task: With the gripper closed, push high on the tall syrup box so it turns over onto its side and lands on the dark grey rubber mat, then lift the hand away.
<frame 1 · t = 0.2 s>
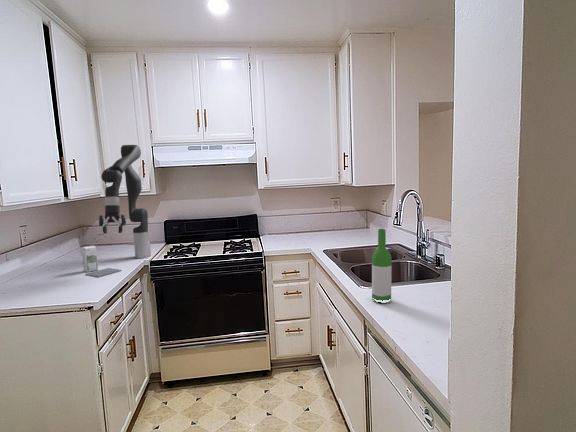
hand: (112, 233, 198), 22 cm above the counter, tool pointing down, fingers open, 8 cm apart
wine bottle: (381, 301, 143), on the counter
syrup box: (91, 271, 204), on the counter
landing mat: (103, 272, 198), on the counter
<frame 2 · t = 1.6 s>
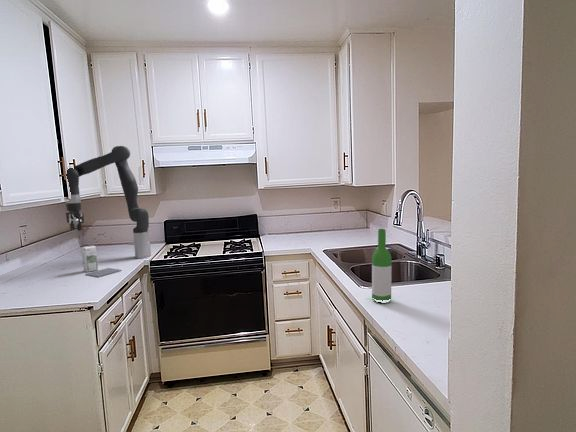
hand: (76, 230, 206), 24 cm above the counter, tool pointing down, fingers open, 6 cm apart
nothing on the counter moved.
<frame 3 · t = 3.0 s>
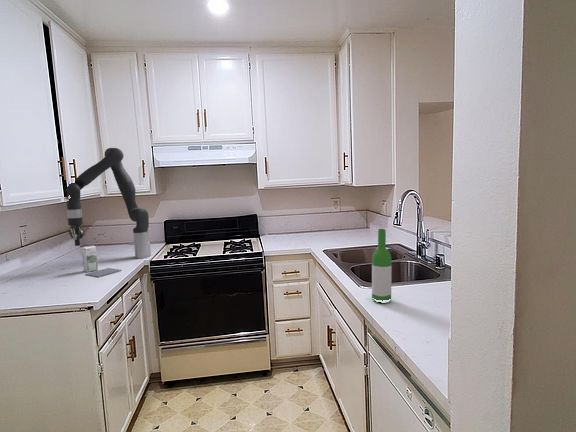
hand: (77, 245, 207), 14 cm above the counter, tool pointing down, fingers closed
nothing on the counter moved.
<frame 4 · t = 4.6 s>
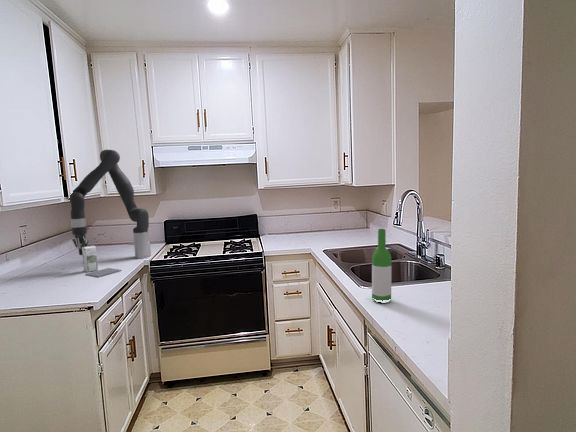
hand: (81, 254, 206), 9 cm above the counter, tool pointing down, fingers closed
nothing on the counter moved.
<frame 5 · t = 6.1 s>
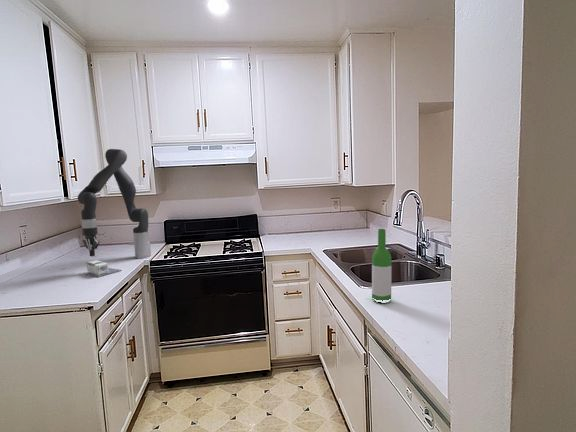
hand: (92, 256, 201), 9 cm above the counter, tool pointing down, fingers closed
syrup box: (91, 265, 202), point 3 cm above the counter, touching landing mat
everything else where it was.
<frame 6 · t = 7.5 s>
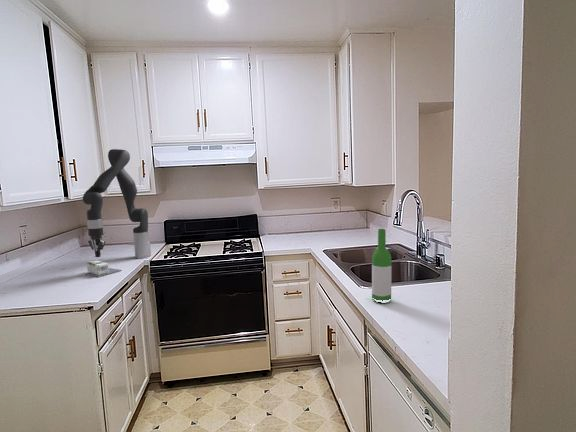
hand: (98, 256, 199), 9 cm above the counter, tool pointing down, fingers closed
nothing on the counter moved.
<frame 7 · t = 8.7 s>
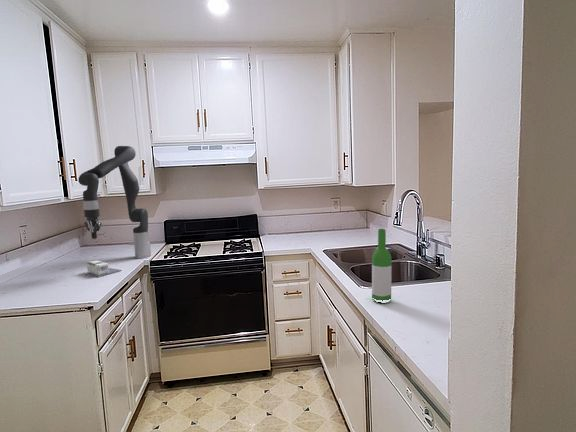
hand: (94, 238, 199), 20 cm above the counter, tool pointing down, fingers closed
nothing on the counter moved.
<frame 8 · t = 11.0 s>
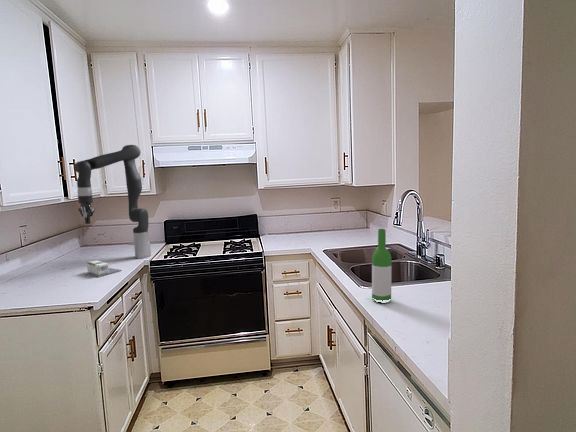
hand: (87, 223, 208), 27 cm above the counter, tool pointing down, fingers closed
nothing on the counter moved.
at the end: syrup box tilted 89°; syrup box touching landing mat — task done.
